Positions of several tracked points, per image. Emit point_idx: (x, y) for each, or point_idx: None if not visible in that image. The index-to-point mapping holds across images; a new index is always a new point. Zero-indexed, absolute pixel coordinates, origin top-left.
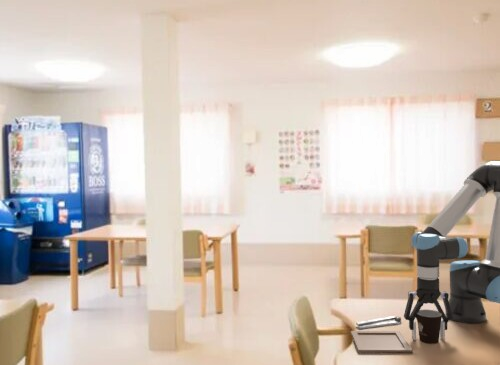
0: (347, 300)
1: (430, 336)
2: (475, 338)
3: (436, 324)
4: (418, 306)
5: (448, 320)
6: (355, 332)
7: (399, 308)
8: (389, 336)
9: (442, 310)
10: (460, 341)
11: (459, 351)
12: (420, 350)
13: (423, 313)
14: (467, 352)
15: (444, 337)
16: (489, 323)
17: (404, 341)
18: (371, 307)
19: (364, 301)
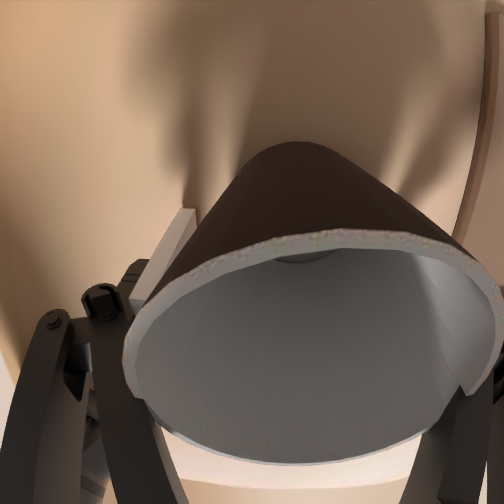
0: (386, 479)
1: (326, 153)
2: (24, 238)
3: (266, 187)
4: (477, 477)
5: (82, 296)
6: None
7: (275, 469)
8: (501, 266)
9: (102, 423)
10: (88, 194)
11: (137, 12)
12: (429, 42)
13: (323, 426)
14: (93, 8)
15: (177, 216)
16: (13, 358)
17: (498, 162)
18: (356, 468)
19: (349, 482)
